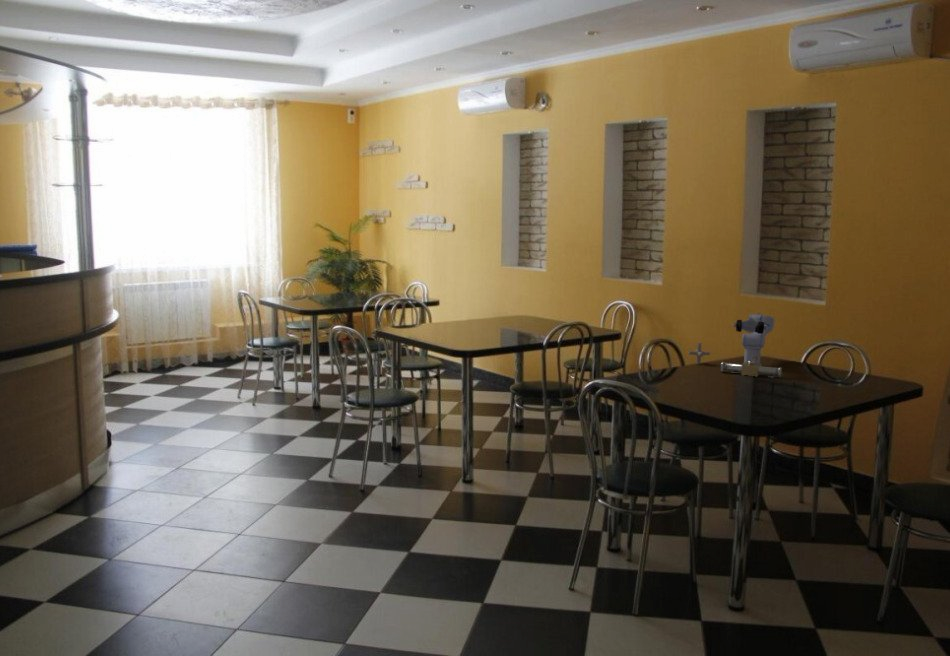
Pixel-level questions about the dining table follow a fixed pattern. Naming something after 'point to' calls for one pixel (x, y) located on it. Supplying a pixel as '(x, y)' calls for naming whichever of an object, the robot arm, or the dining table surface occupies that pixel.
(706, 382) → the dining table surface
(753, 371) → the valve pipe
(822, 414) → the dining table surface
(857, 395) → the dining table surface
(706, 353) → the pipe connector
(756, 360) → the lever
